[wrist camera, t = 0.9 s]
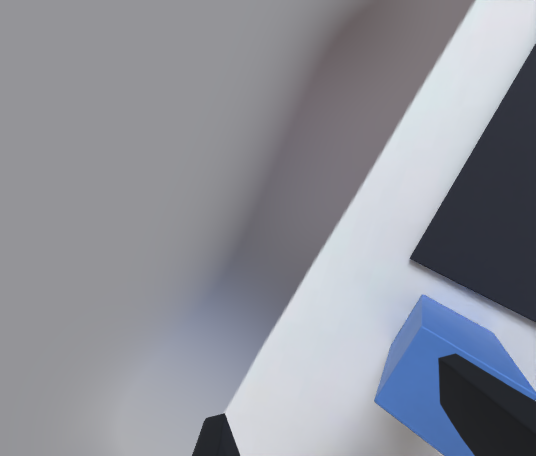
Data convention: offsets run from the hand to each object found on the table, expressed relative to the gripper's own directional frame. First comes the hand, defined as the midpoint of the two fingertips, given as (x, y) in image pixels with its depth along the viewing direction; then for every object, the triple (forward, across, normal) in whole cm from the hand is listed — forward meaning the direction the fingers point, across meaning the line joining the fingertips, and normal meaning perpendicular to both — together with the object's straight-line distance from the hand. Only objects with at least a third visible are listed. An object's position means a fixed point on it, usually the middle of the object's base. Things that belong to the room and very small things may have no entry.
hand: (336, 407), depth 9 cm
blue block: (+8, -9, +6) cm, 13 cm away
